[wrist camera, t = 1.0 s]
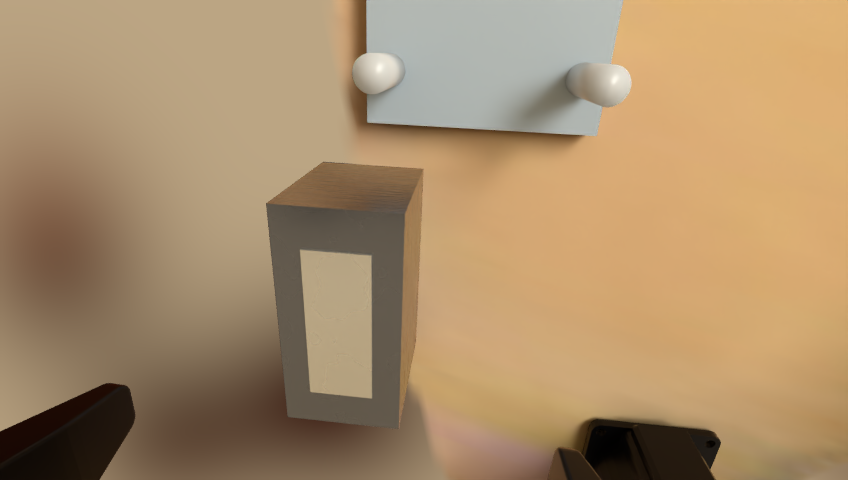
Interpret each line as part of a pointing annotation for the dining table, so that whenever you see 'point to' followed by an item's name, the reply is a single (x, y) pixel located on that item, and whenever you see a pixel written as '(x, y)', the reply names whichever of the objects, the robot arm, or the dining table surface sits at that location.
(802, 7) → the dining table surface
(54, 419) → the robot arm
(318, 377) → the block
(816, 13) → the dining table surface
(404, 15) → the tray
